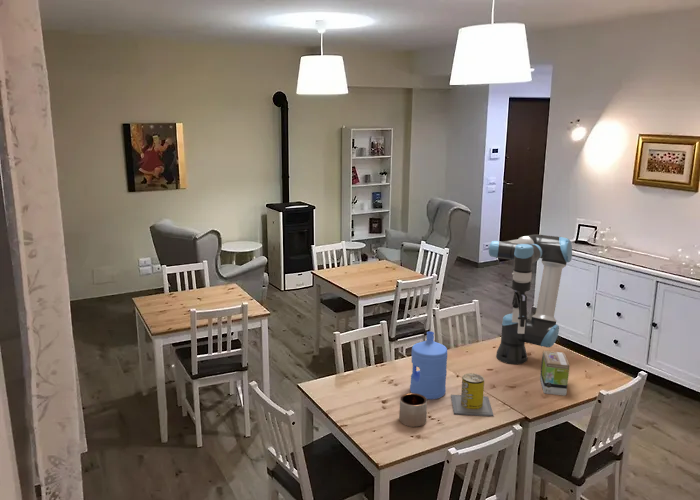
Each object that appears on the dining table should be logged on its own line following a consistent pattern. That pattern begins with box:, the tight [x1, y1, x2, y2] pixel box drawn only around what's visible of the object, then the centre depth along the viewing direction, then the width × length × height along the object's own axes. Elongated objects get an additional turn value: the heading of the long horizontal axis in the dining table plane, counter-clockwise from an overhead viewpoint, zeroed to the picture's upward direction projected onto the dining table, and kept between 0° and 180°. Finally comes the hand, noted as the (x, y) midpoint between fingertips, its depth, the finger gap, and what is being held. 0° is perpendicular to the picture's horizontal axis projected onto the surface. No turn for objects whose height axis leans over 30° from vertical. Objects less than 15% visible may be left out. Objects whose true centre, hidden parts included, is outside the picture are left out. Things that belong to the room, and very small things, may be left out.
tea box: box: [539, 350, 571, 396], centre depth 262 cm, size 15×10×15 cm
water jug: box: [409, 331, 448, 400], centre depth 254 cm, size 16×16×28 cm
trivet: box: [450, 394, 495, 417], centre depth 245 cm, size 16×16×1 cm
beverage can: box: [460, 372, 485, 409], centre depth 244 cm, size 9×9×12 cm
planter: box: [398, 392, 428, 428], centre depth 232 cm, size 11×11×10 cm
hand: (517, 327), depth 251 cm, fingers open, 13 cm apart
